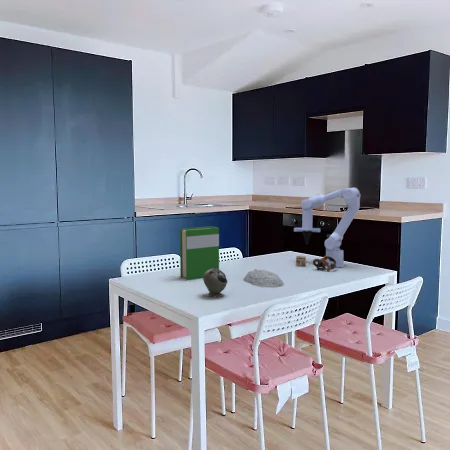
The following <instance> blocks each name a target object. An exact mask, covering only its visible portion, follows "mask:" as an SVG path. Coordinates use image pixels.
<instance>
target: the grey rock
mask: <svg viewBox="0 0 450 450" xmlns="http://www.w3.org/2000/svg"><path fill="white" fill-rule="evenodd" d="M242 279H243V282H246V283H247V284H250V285H252V286H255V287H261V288H266V289H273V288H281V287H283V286H285V283H284V282H283V280H282V278H280V276H279V275H278V274H276V272H272V271H270V270H269V271H268V270H266V269H258V268H255V269H253V270H250V271H249V272H247V273H246V275H245V276H244V277H243V278H242Z"/></svg>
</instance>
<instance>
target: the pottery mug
mask: <svg viewBox="0 0 450 450" xmlns="http://www.w3.org/2000/svg"><path fill="white" fill-rule="evenodd" d="M327 259H329V261H333V262H334V264H331V265H328V264H329V263H328V262H327V261H326V260H327ZM312 264H313V265H314V267H316V270H318V269H319V268H323V269H325V268H326V266H327V268H326V270H325V271H326V272H328V273H329V272H330V271H331V270H332V271H333V269H334V270H335V268H337V267H336V261H335V259H333V258H332V257H329V256H326V255H324V256H323V257H321V258H314V259H313V260H312Z"/></svg>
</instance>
